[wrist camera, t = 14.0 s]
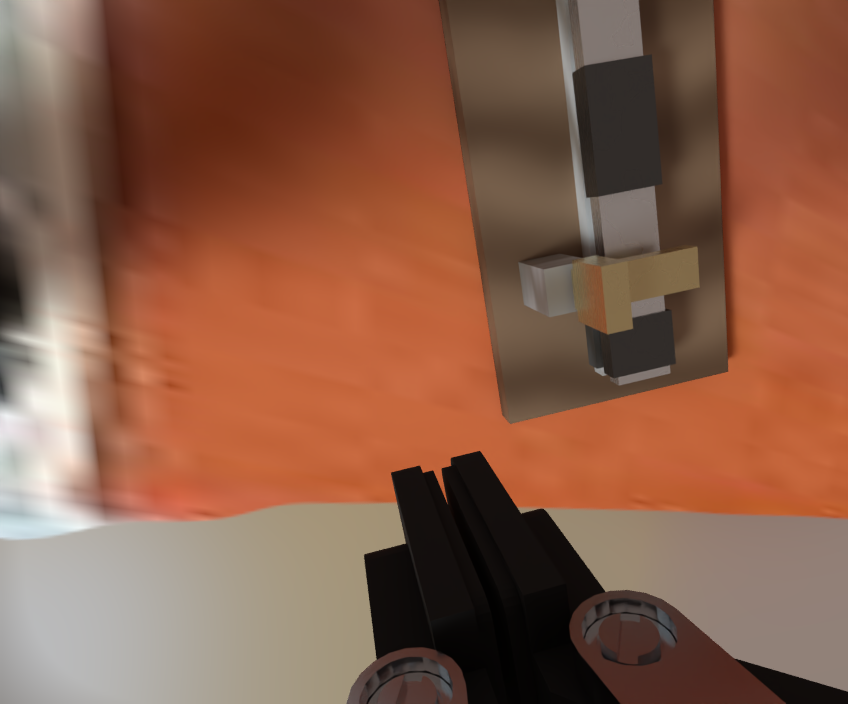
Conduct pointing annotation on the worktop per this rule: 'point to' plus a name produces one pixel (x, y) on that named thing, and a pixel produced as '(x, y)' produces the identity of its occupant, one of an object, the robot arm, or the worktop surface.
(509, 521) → the robot arm
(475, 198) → the tong base
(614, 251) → the banded silver bar
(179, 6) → the worktop surface
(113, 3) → the worktop surface
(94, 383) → the worktop surface
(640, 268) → the lock bolt
